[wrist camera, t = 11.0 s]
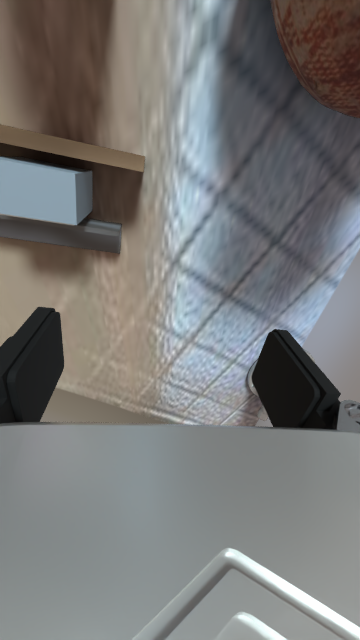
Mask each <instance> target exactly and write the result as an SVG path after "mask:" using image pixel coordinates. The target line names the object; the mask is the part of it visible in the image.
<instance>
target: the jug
mask: <svg viewBox="0 0 360 640" xmlns="http://www.w3.org/2000/svg"><path fill="white" fill-rule="evenodd" d="M270 2H271V8H272V13H273V17H274V22H275V26H276V31H277V35H278V38H279V41H280V44H281V46H282V49H283V52H284V54H285V57H286V59H287V61H288V63H289V65H290V67H291V69H292V70H293V72H294V74H295V75H296V77H297V79H298V80H299V82H300V84H301V85H302V86H303V87H304V88H305V89H306V90H307V91H308V92H309V93H310V94H311V95H312V96H313V97H314V98H315V99H316V100H317V101H318V102H319V103H321V104H322V105H324V106H326V107H328V108H330V109H333V110H335V111H338V112H341V113H343V114H345V115H348V116H352V117H356V118H360V0H270Z"/></svg>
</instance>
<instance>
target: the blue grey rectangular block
mask: <svg viewBox="0 0 360 640" xmlns="http://www.w3.org/2000/svg"><path fill="white" fill-rule="evenodd" d="M91 211H92V171H91V170H85V169H80V168H75V167H70V166H65V165H60V164H54V163H49V162H44V161H39V160H34V159H29V158H23V157H8V156H0V215H7V216H14V217H20V218H27V219H33V220H40V221H47V222H53V223H60V224H67V225H73V226H74V225H77V224H79V223H80V222H81V221H82V220H83V219H84V218H85V217H86V216H87V215H88V214H89V213H90V212H91Z"/></svg>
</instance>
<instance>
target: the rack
mask: <svg viewBox="0 0 360 640" xmlns="http://www.w3.org/2000/svg"><path fill="white" fill-rule="evenodd" d="M0 143H5V144H10V145H15V146H20V147H25V148H29V149H34V150H39V151H44V152H49V153H54V154H58V155H63V156H68V157H73V158H78V159H82V160H87V161H92V162H97V163H102V164H107V165H111V166H116V167H121V168H126V169H131V170H136V171H140V172H144V162H145V156H141V155H136V154H132V153H127V152H123V151H118V150H114V149H109V148H105V147H100V146H96V145H91V144H86V143H82V142H77V141H73V140H68V139H64V138H59V137H55V136H50V135H45V134H41V133H36V132H32V131H27V130H23V129H18V128H14V127H9V126H5V125H0ZM121 227H122V224H119V223H113V222H106V221H100V220H94V219H88V218H84V219H83V220H82V221H81V222H80V223H79V224H77V225H74V226H73V225H67V224H60V223H53V222H47V221H40V220H33V219H27V218H20V217H14V216H7V215H0V237H6V238H13V239H21V240H28V241H35V242H42V243H49V244H56V245H63V246H70V247H77V248H84V249H91V250H98V251H106V252H113V253H120V243H121Z"/></svg>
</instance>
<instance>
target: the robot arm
mask: <svg viewBox="0 0 360 640" xmlns="http://www.w3.org/2000/svg"><path fill="white" fill-rule="evenodd" d="M63 368H64V356H63V344H62V332H61V320H60V313H59V312H55V309H54V308H46V307H38V308H37V309H36V310H35V311H34V312H33V313H32V315H31V316H30V317H29V318H28V319H27V320H26V322H25V323H24V324H23V325H22V326H21V327H20V329H19V330H18V331H17V332H16V333H15V334H14V336H12V337H9V338H8V339H7V340H6V341H5V342H4V343H3V345H2V346H1V347H0V640H360V403H358V402H356V401H352V400H344V401H342V402H341V403H340V401H339V400H338V398H339V396H340V394H341V393H340V392H339V391H338V390H337V389H336V388H335V386H334V385H333V384H332V383H331V382H330V380H329V379H328V378H327V377H326V376H325V374H324V373H323V372H322V371H321V370H320V369H319V367H318V366H317V365H316V364H315V361H314V359H313V357H312V356H311V355H310V354H309V353H308V352H307V351H306V350H304V349H303V348H302V347H301V346H300V345H299V344H298V343H297V341H296V340H295V339H294V338H293V337H292V335H291V334H290V333H289V332H288V331H287V330H277V329H274V330H273V331H272V332H270V333H269V334H268V336H267V338H266V341H265V343H264V346H263V348H262V351H261V353H260V356H259V358H258V360H257V361H256V362H255V363H254V365H253V366H252V367H251V369H250V371H249V374H248V379H247V381H248V385H249V387H250V390H251V391H252V392H253V393H254V394H255V395H256V396H258V397H259V398H260V400H261V402H262V407H261V409H260V411H259V412H258V417H259V418H260V419H261V420H263V421H265V420H267V418H268V417H269V419H270V420H271V423H272V425H273V427H255V426H223V425H186V424H144V423H97V422H40V419H41V417H42V415H43V413H44V411H45V409H46V407H47V404H48V402H49V400H50V398H51V396H52V393H53V391H54V389H55V387H56V385H57V382H58V380H59V378H60V376H61V374H62V371H63Z"/></svg>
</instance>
